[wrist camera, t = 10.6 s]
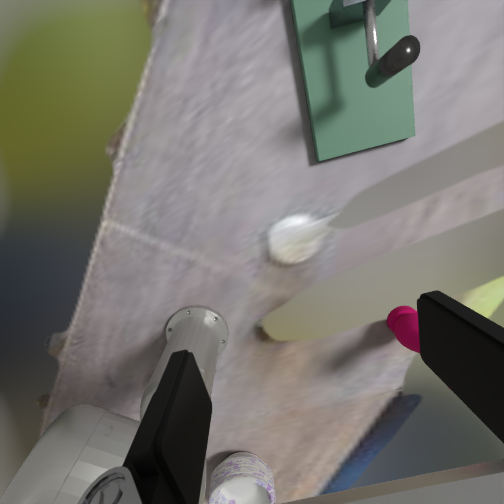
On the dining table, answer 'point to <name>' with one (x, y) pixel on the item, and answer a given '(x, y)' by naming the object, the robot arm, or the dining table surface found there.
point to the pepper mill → (405, 326)
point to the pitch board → (351, 80)
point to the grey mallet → (375, 39)
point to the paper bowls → (242, 481)
